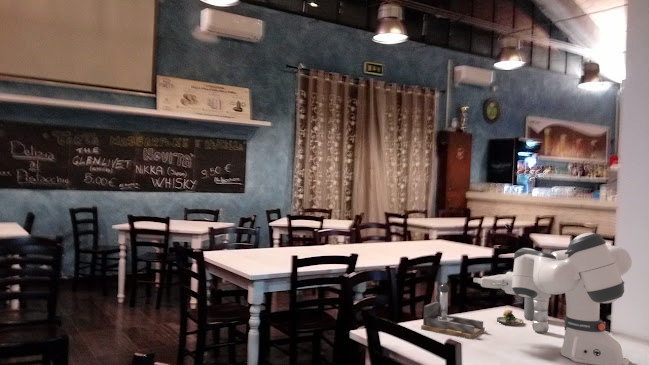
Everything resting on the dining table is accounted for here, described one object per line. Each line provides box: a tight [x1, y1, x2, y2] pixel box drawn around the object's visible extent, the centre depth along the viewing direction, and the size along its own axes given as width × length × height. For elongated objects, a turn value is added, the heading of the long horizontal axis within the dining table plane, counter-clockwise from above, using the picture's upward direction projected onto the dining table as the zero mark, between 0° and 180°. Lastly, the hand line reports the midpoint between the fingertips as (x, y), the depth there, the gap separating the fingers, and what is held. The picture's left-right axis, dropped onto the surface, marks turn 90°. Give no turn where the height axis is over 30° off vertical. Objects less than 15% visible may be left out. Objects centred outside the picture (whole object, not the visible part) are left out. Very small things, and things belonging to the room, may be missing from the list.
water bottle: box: [523, 298, 534, 322], centre depth 256 cm, size 10×10×28 cm
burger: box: [496, 306, 524, 326], centre depth 247 cm, size 12×12×8 cm
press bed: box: [420, 301, 486, 340], centre depth 232 cm, size 22×16×10 cm
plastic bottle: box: [532, 297, 550, 334], centre depth 233 cm, size 6×7×20 cm
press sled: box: [434, 283, 454, 322], centre depth 234 cm, size 7×8×17 cm
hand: (478, 279), depth 226 cm, fingers open, 8 cm apart
